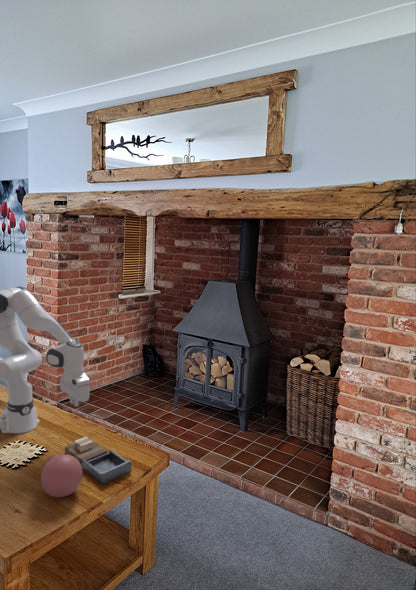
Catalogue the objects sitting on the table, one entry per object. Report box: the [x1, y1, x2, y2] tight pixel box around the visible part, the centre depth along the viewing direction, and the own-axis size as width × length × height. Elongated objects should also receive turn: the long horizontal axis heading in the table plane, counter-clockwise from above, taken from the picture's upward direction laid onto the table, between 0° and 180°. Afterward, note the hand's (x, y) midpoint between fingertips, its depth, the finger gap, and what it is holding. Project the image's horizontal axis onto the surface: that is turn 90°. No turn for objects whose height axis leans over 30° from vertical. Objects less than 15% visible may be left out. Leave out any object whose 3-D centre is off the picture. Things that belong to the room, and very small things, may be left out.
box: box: [82, 449, 132, 486], centre depth 184 cm, size 16×14×5 cm
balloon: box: [40, 453, 84, 498], centre depth 169 cm, size 15×20×15 cm
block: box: [73, 436, 94, 452], centre depth 196 cm, size 6×6×3 cm
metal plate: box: [64, 441, 108, 466], centre depth 196 cm, size 16×12×3 cm
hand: (74, 404), depth 199 cm, fingers closed
